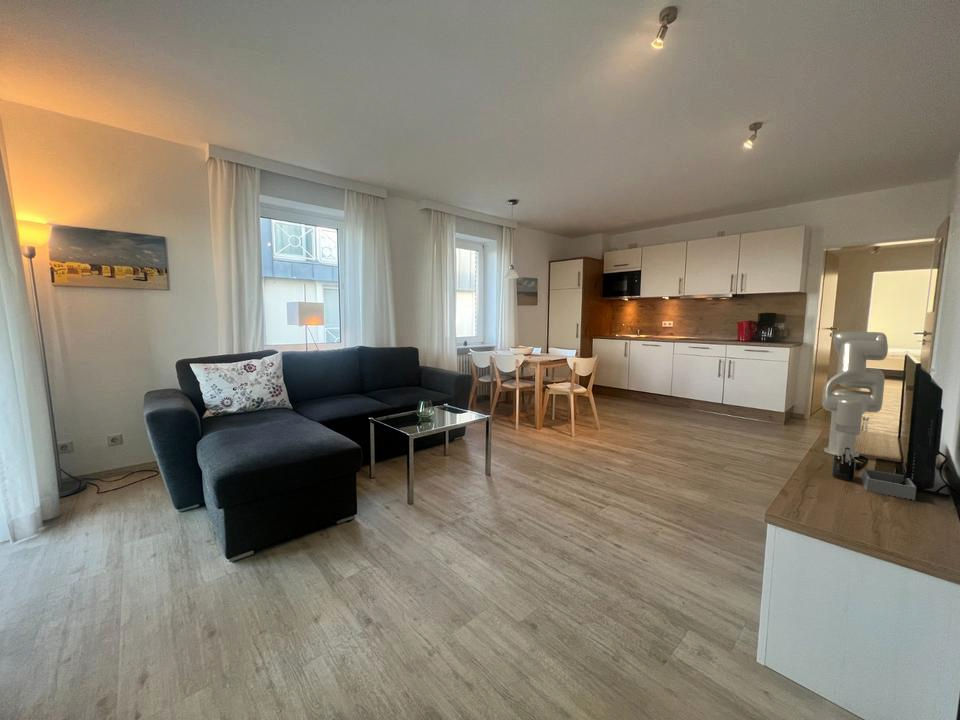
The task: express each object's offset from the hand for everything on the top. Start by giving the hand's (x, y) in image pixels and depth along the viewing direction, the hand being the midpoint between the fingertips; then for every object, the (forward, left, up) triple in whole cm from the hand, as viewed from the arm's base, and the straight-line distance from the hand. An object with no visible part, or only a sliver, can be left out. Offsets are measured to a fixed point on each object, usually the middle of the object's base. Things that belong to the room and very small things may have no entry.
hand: (843, 470), depth 161 cm
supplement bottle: (0, 0, -4) cm, 4 cm away
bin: (+5, +12, -3) cm, 13 cm away
